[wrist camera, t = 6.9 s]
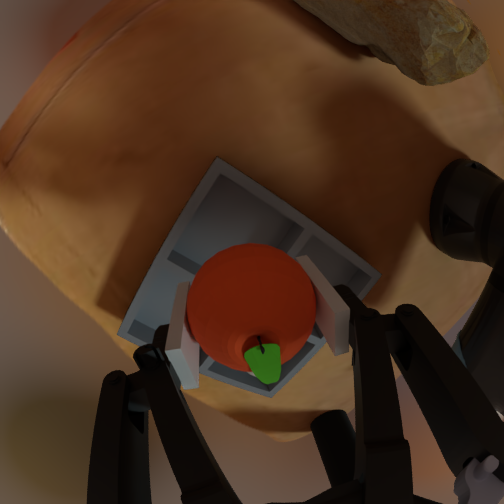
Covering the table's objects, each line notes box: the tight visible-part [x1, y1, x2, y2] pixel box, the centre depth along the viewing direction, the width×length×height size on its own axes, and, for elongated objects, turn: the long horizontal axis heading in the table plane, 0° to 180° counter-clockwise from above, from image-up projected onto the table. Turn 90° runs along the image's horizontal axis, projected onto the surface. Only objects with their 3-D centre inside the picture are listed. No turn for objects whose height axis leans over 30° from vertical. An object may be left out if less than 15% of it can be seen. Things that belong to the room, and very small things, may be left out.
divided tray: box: [117, 156, 382, 398], centre depth 31 cm, size 22×22×4 cm
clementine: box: [187, 243, 316, 384], centre depth 15 cm, size 8×7×7 cm
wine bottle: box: [311, 410, 356, 487], centre depth 32 cm, size 8×8×30 cm
